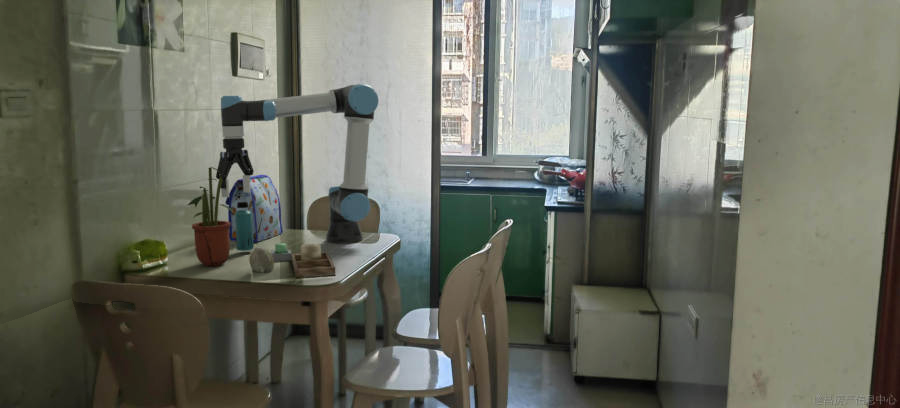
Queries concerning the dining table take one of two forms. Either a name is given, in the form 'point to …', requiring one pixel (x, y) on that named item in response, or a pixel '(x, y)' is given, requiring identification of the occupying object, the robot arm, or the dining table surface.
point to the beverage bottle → (244, 228)
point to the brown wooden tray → (313, 266)
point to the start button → (281, 248)
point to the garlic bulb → (261, 260)
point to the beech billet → (310, 252)
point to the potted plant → (211, 229)
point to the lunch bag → (256, 207)
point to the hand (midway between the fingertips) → (236, 194)
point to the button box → (282, 256)
